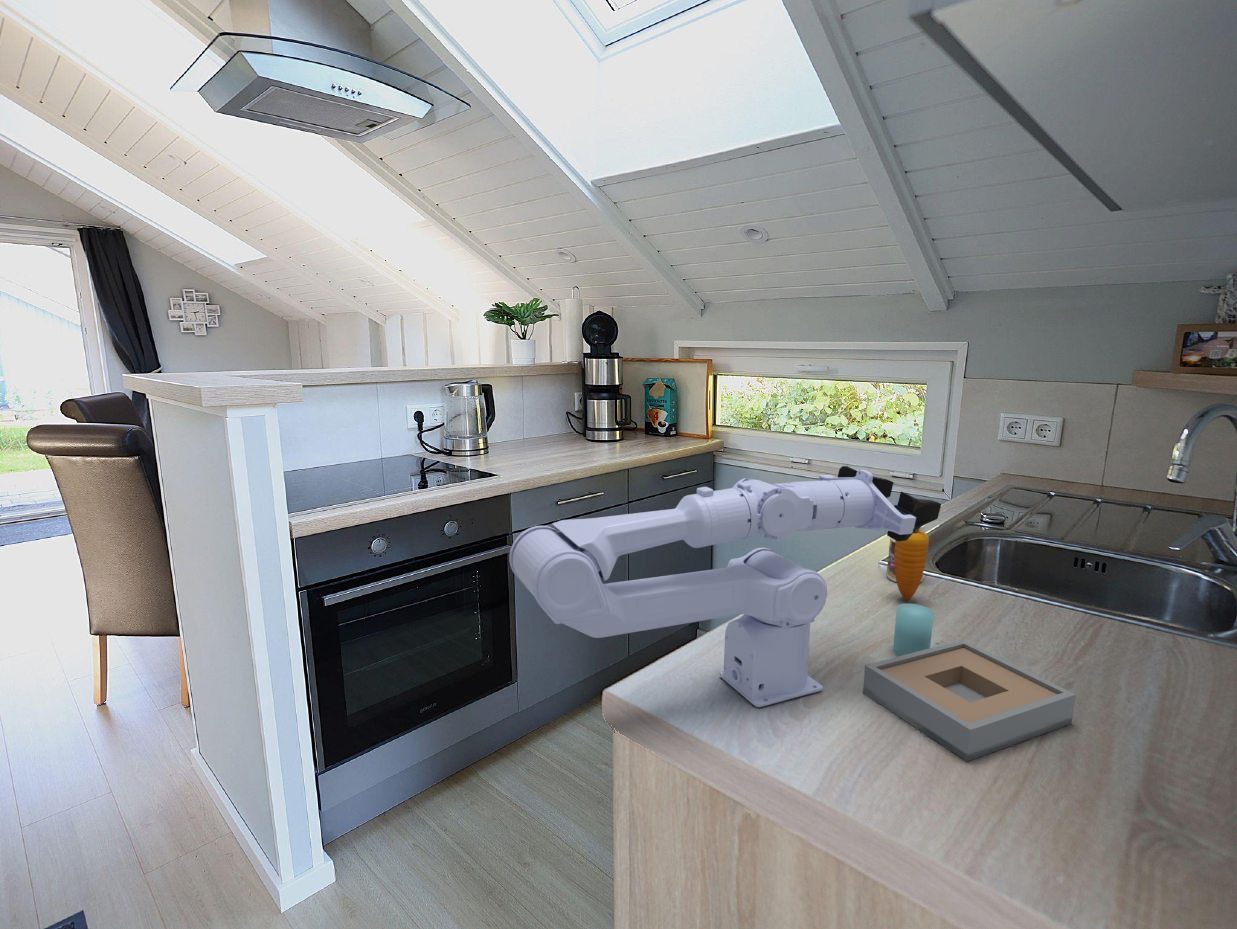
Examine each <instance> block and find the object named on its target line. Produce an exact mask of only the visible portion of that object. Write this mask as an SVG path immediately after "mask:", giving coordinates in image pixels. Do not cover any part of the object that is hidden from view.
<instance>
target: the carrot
mask: <svg viewBox="0 0 1237 929" xmlns="http://www.w3.org/2000/svg"><path fill="white" fill-rule="evenodd" d="M920 528H921V527H920ZM920 528H918V529H917V530H916V531H915V532H914V533H913V534H912V535H911V536H910V537H909V539H908V540H906V541H896V540H895V555H894V565H895V575H896V582H895V583H896V584H897V588H898V591H899V592H900V595H901V597H902V599H903V600H904V602H908V601H910V600H911V599H912V598H913V596H914V595H915V593H916V592H917V590H918V588H919V586H920V585H921V582H922V581H921V578H922V575H923V576H924V571H925V568H926V564H927V557H928V550H929V543H930V542H929V541H930V537H929V535H928V533H926V532H922V531H919V529H920ZM920 581H921V582H920Z"/></svg>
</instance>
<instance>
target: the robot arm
mask: <svg viewBox="0 0 1237 929" xmlns="http://www.w3.org/2000/svg"><path fill="white" fill-rule="evenodd" d="M894 484H895V483H894V481H891V480H889V479H887V478H883V477H879V476H874V475H873V473H871V472H870V471H868V470H865V469H858V470H856V469H854V468H852V467H850V466H848V465H842V466H840V468H839V470H838V473H837V477H836V476H834V475H832V474H819V475H818V479H817V480H807V481H804V480H803V481H791V482H785V483H782V482H781V483H772V484H771V483H769V482H765V481H763V480H760V479H754V478H741V479H740V480H739V481H737V482H736V483H735V484H734V485H733V486H732V487H731V488H730V487H729V488H724V489H719V490H718V489H717V490H714V489H713V488H710V487H708V486H701V487H697V488H696V493H694V494H688V495H685V496H683V497H682V498H681V500H680V501H679V502H678V504H677V505H676V507H675V508H672V509H671V508H670V509H660V510H652V511H645V512H636V513H635V512H634V513H626V514H619V515H608V516H601V517H600V516H599V517H589V518H576V519H575V518H574V519H572V518H571V519H562V520H559V521H557V522H556V521H555V522H553V523H551V524H552V526H553V527H555V528H553V527H551V526H548V525H536V526H535V525H534V526H532V527H529V528H527V529H525V530H524V531H523V532H521V533H520V534H519V535H518V536H517V537H516V538H515V539H514V541H513V543H512V545H511V547H510V550H509V556H508V557H509V559H508V560H509V565H510V569H511V571H512V573H513V574H514V575H515V577H516V579H518V580H519V581H520V582H521V583H522V585H523V586H524V587H525V589H527V591H528V592H529V593H530V594H531V595H532V596H533V597H534V599H535V600H536V602H537V604H538V606H540V608H541V609H542V610H543V611H544V612H545V613H546V615H547V616H548V617H549V618H550V619H551V621H552V622H553V623H554V624H556V625H558V624H562V625H565V626H567V627H569V628H572V629H574V630H576V631H578V632H581V633H582V634H584V635H586V636H588V637H591V638H594V639H596V638H597V639H599V638H606V637H607V638H608V637H613V636H618V635H625V634H632V633H637V632H642V631H648V630H655V629H660V628H661V629H662V628H667V627H672V626H678V625H679V626H680V625H685V624H691V623H697V622H703V621H709V620H713V619H714V620H715V619H720V618H721V619H722V618H726V617H732V616H738V615H742V616H740V617H738V618H736V619H734V620H732V621H730V622H729V623H727V626H726V628H725V631H724V632H725V633H724V647H723V648H724V649H723V650H724V653H723V670H722V671H720V672H719V676H720V677H721V679H723V680H724V681H725V682H726V683H727V684H729V685H730V686H731V687H732V688H734V689H735V691H737V692H738V693H740V695H741V696H743V697H744V698H745V699H746V700H747V701H748V702H749V703H751V704H752V705H753V706H755V707H757V708H762V707H766V706H770V705H773V704H777V703H780V702H784V701H788V700H791V699H795V698H798V697H802V696H806V695H809V694H814V693H817V692H821V691H823V685H822V684H821V683H820V682H818V681H817V680H815V679H814V678H812V677H811V676H809V675H808V666H809V665H808V664H809V652H810V651H809V649H810V634H811V632H810V631H811V624H812V623H814V622H815V619H816V618H817V617H818V616H819V615H820V614H821V612H822V610H823V609H824V606H825V605H826V601H827V596H828V587H827V582H826V580H825V578H824V577H823V576H822V575H821V574H820V573H819V572H817V571H815V570H813V569H808V568H807V567H804V566H802V565H800V564H798V563H796V562H794V561H792V560H789V559H788V558H786V557H783V556H781V555H780V554H778V553H776V552H775V551H774V550H772V549H770V548H767V547H757V548H754V549H752V550H751V551H749V552H748V553H746V554H744V555H743V556H740V557H738V558H737V557H736V558H731V559H729V561H728V564H727V566H726V567H721V568H714V569H707V570H700V571H699V570H698V571H691V572H685V573H676V574H668V575H662V576H654V577H647V578H646V577H645V578H639V579H638V578H637V579H632V580H624V581H616V582H608V583H603V581H606V582H607V580H608V579H610V576H611V573H612V572H613V570H614V567H615V564H616V562H617V561H618V558H619V557H620V556H623V555H628V554H631V553H635V552H636V553H637V552H640V551H643V550H647V549H651V548H655V547H658V546H659V547H660V546H662V545H666V544H670V543H674V542H678V541H684V542H685V543H686V544H687V545H688V546H690V547H691V548H694V549H699V548H704V547H709V546H713V545H714V546H715V545H719V544H723V543H728V542H729V543H730V542H733V541H740V540H745V539H748V538H751V537H753V536H757V535H759V536H762V537H764V538H766V539H770V540H775V541H776V542H778V543H779V542H782V541H785V540H787V539H788V538H790V537H791V536H792V535H793V534H794V533H795V532H806V531H807V532H808V531H820V530H831V529H834V530H835V529H846V528H856V529H862V530H863V529H864V530H874V531H876V530H877V531H887V533H886V536H887V537H889V538H890V537H891V538H892V539H894V540H896V541H906V540H908V539H909V537H910V536H911V535H912V534H913V533H914V532H915V531H916V530H917V529H918V528H920V527H922V526H923V525H925V526H926V525H927V524H929V523H931V522H933V521H936V520H937V519H938V518H939V515H940V511H941V508H942V503H940V502H937V501H935V500H931V499H925V498H924V499H921V498H917V497H914V496H912V495H910V494H909V493H906V492H903V491H900V493H899V498H898V502H897V504H894V505H893V504H892V502H890V501H889V500H888V498H890V497H891V494H892V490H893V487H894ZM602 580H603V581H602Z"/></svg>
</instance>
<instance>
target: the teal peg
mask: <svg viewBox="0 0 1237 929" xmlns="http://www.w3.org/2000/svg"><path fill="white" fill-rule="evenodd" d="M934 613H935V612H934V611H933V610H932V609H930V608H929V607H927V606H924V605H920V604H916V603H902V604H898V605H897V606H896V613H895V624H894V634H893V635H894V636H893V645H892V646H893V647H892V652H893V653H894V654H895V655H896V657H898V656H902V655H906V654H910V653H914V652H918V651H922V650H925V649H929V648H931V644H932V643H931V642H932V634H933V633H932V632H933V625H934V624H933V623H934V615H935V614H934Z"/></svg>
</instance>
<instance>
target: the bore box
mask: <svg viewBox="0 0 1237 929" xmlns="http://www.w3.org/2000/svg"><path fill="white" fill-rule="evenodd" d="M863 674H864V675H863V684H862V685H863V686H862V693H863V694H864V695H866V696H867V697H869V698H870V699H871V700H873V701H875V702H876V703H878V704H879V705H881V706H882V707H883V708H884V709H887V710H888V711H890V712H891V713H893V714H894V715H896V716H897V717H899V718H901V719H902V720H903V721H904V722H906V723H908V724H909V725H911V726H912V727H913V728H915V729H916V730H918V731H920V732H921V733H922V734H925V735H926V736H927V737H929V738H930V739H932V740H933V741H935V742H936V743H938V744H939V745H941V746H943V747H944V748H945V749H946V750H948V751H950V752H952V753H953V754H954V755H955V756H957V757H959V758H960V759H962V760H963V761H965V762H968V763H969V762H970V761H973V760H976V759H979V758H982V757H984V756H987V755H990V754H992V753H996V752H998V751H1000V750H1001V751H1002V750H1003V749H1007V748H1009V747H1012V746H1015V745H1017V744H1020V743H1024V742H1026V741H1028V740H1031V739H1034V738H1037V737H1040V736H1043V735H1044V734H1048V733H1051V732H1053V731H1056V730H1059V729H1061V728H1064V727H1067V726H1070V725H1072V724H1073V722H1072V721H1073V717H1074V710H1075V705H1076V704H1075V703H1076V698H1077V697H1076V696H1077V694H1076V693H1074V692H1071V691H1070V690H1068V689H1065V688H1063V687H1061V686H1059V685H1057V684H1055V683H1053V682H1052V681H1050V680H1047V679H1045V678H1043V677H1041V676H1039V675H1037V674H1036V673H1035V674H1034V673H1033V672H1030V671H1028V670H1027V669H1024V668H1022V667H1020V666H1018V665H1016V664H1013V663H1012V662H1010V661H1008V660H1006V659H1004V658H1001V657H999V656H997V655H995V654H993V653H992V652H989V651H987V650H985V649H983V648H980V647H979V646H976V645H974V644H973V643H970V642H968V641H966V640H964V639H961V640H956V641H953V642H949V643H945V644H940V645H937V646H933V647H930V648H929V649H925V650H922V651H918V652H914V653H910V654H906V655H902V656H894V657H890V658H887V659H883V660H879V661H876V662H872V663H868V664H865V665H864V673H863Z"/></svg>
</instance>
